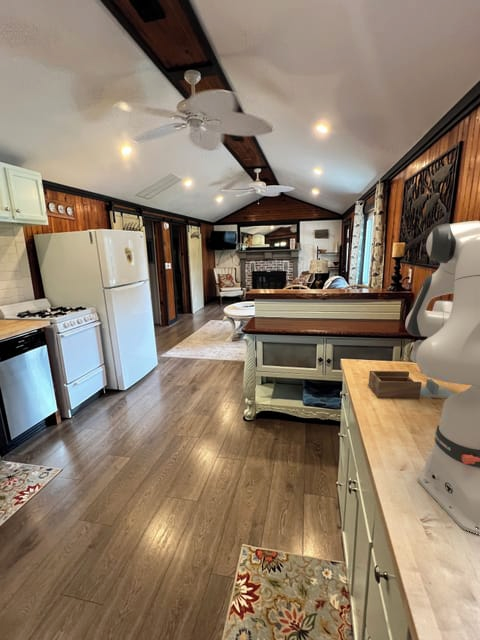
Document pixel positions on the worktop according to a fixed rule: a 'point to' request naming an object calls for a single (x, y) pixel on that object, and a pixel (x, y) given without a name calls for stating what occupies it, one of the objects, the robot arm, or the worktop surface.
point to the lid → (435, 390)
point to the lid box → (394, 385)
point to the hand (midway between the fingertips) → (435, 373)
